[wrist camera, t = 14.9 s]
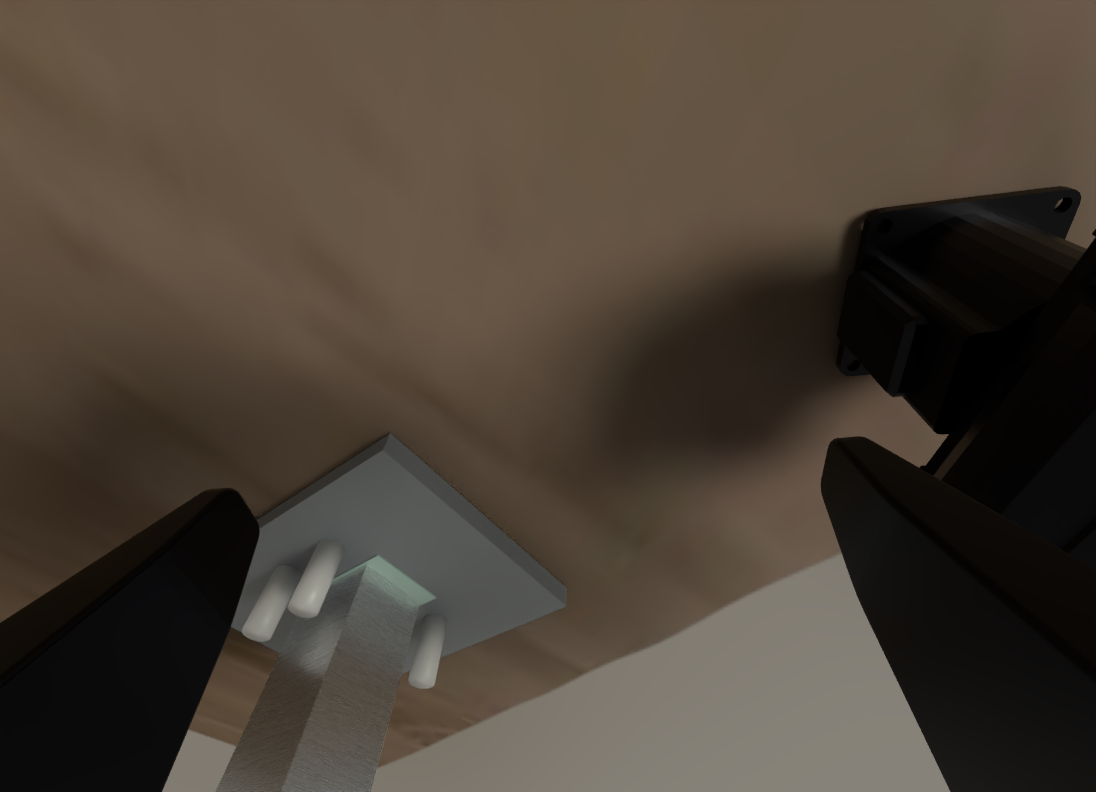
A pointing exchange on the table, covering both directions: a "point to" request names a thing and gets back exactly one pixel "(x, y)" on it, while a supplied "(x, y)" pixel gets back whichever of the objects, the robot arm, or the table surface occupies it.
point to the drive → (329, 694)
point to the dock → (394, 558)
